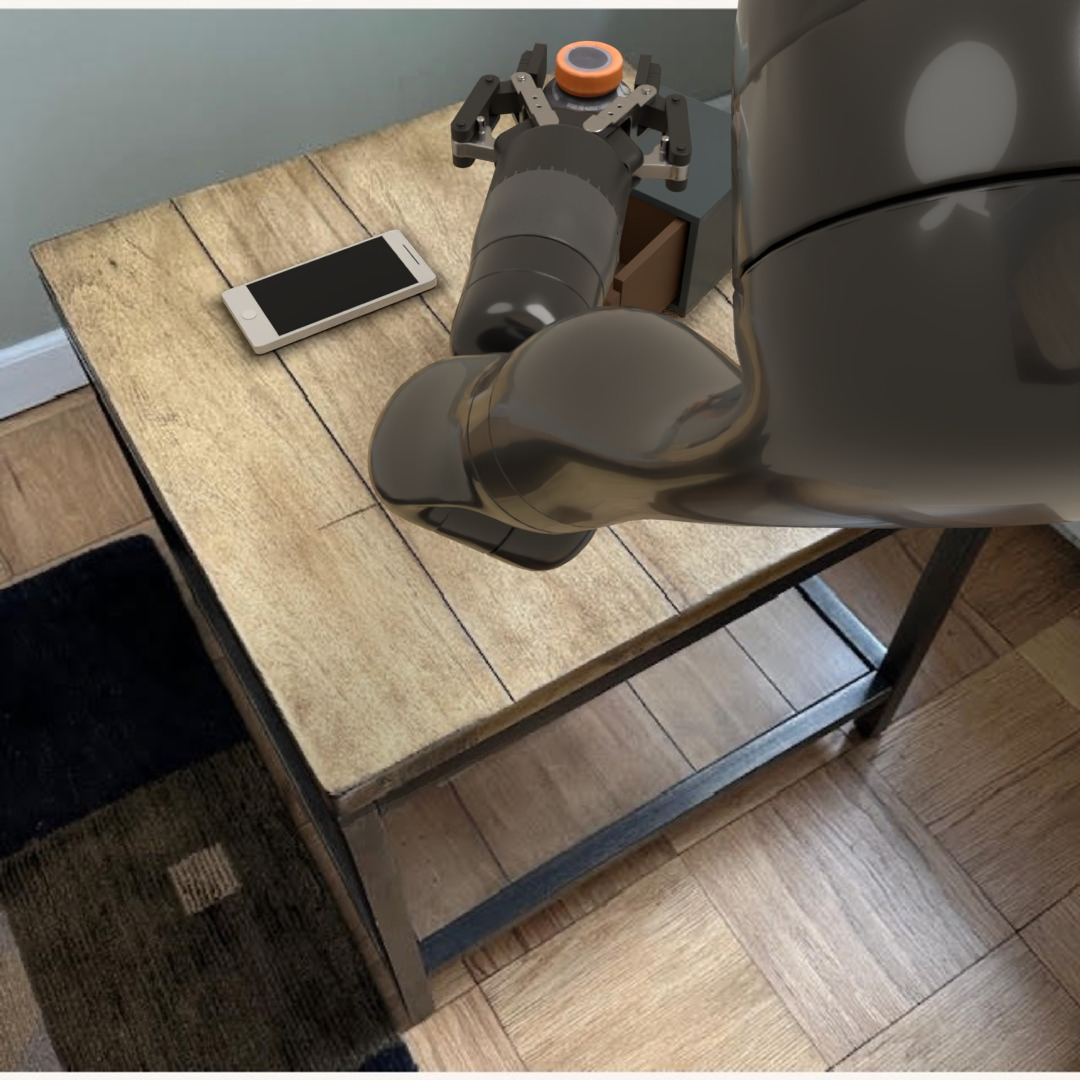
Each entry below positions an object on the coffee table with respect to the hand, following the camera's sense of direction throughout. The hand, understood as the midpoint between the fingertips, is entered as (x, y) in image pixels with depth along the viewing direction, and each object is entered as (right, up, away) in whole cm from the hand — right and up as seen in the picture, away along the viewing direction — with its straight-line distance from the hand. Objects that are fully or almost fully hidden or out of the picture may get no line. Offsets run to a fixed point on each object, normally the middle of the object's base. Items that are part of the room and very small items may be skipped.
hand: (592, 63), depth 68 cm
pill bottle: (-1, -8, +6) cm, 10 cm away
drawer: (-1, -13, +16) cm, 21 cm away
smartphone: (-20, -10, +19) cm, 29 cm away
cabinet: (+7, -5, +23) cm, 25 cm away
